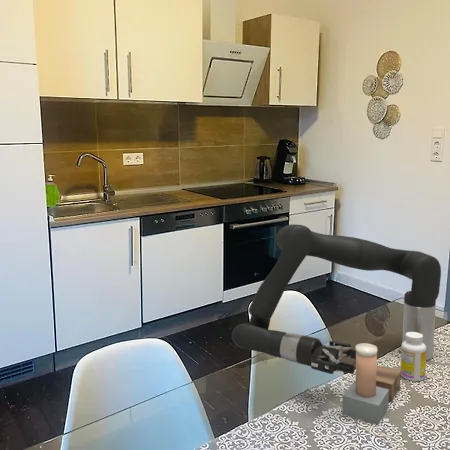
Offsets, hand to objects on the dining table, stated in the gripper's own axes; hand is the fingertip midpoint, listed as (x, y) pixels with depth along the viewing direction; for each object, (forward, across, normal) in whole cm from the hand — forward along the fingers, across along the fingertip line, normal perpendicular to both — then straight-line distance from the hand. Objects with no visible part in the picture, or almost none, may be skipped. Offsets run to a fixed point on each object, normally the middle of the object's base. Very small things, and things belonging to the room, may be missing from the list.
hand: (359, 362), depth 119 cm
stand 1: (+2, 0, +13) cm, 13 cm away
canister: (+2, 0, +8) cm, 8 cm away
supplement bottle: (+8, +25, +13) cm, 29 cm away
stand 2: (+2, +12, +12) cm, 17 cm away
